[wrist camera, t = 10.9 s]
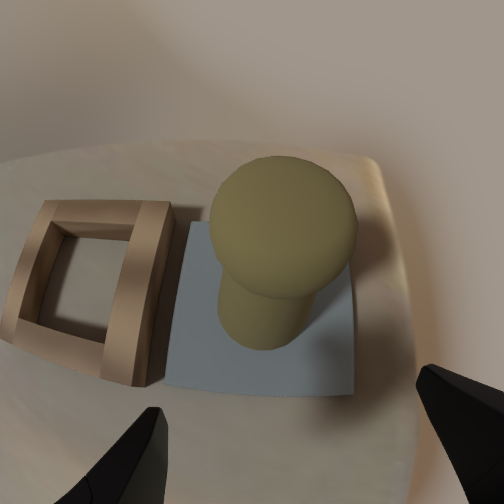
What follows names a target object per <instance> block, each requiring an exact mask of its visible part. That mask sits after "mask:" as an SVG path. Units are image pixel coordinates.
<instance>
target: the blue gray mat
mask: <svg viewBox="0 0 504 504" xmlns="http://www.w3.org/2000/svg"><path fill="white" fill-rule="evenodd" d="M222 271H223V266H222V265H221V263H220V262H219V261H218V259H217V258H216V255H215V252H214V248H213V245H212V241H211V238H210V233H209V222H196V221H191V225H190V230H189V235H188V239H187V244H186V249H185V254H184V259H183V264H182V269H181V274H180V280H179V285H178V291H177V296H176V302H175V308H174V314H173V321H172V327H171V334H170V341H169V348H168V355H167V363H166V371H165V380H164V384H165V385H170V386H176V387H183V388H189V389H196V390H203V391H212V392H221V393H231V394H243V395H258V396H286V397H311V396H339V395H354V323H353V304H352V289H351V276H350V266H349V262H348V263H347V265H346V267H345V269H344V270H343V271H342V273H341V274H340V275H339V276H338V277H337V278H336V279H335V280H334V281H332V282H331V283H330V284H329V285H327V286H326V287H325V288H323V289H322V290H320V291H318V292H317V293H316V296H315V299H314V302H313V305H312V308H311V311H310V313H309V316H308V319H307V322H306V324H305V326H304V328H303V329H302V331H301V332H300V334H299V335H298V337H297V338H295V339H294V340H293V341H291V342H290V343H289V344H287V345H286V346H283V347H280V348H277V349H274V350H253V349H250V348H247V347H244V346H242V345H240V344H239V343H237V342H236V341H235V340H233V339H232V338H230V337H229V335H228V334H227V332H226V331H225V330H224V328H223V327H222V325H221V322H220V319H219V316H218V312H217V306H218V294H219V288H220V283H221V277H222Z"/></svg>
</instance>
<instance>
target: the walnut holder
mask: <svg viewBox="0 0 504 504" xmlns="http://www.w3.org/2000/svg"><path fill="white" fill-rule="evenodd" d="M175 223H176V219H175V216H174V212H173V209H172V206H171V203H170V201H145V200H45V201H44V203H43V205H42V207H41V209H40V211H39V213H38V215H37V217H36V220H35V222H34V224H33V226H32V229H31V231H30V233H29V235H28V238H27V240H26V243H25V245H24V248H23V250H22V253H21V256H20V258H19V261H18V264H17V267H16V270H15V273H14V276H13V279H12V282H11V285H10V288H9V292H8V295H7V299H6V303H5V307H4V311H3V315H2V319H1V324H0V339H2V340H4V341H6V342H8V343H10V344H12V345H14V346H16V347H18V348H21V349H23V350H25V351H27V352H30V353H32V354H34V355H36V356H39V357H41V358H44V359H46V360H49V361H51V362H54V363H56V364H59V365H62V366H65V367H67V368H70V369H73V370H76V371H79V372H82V373H85V374H88V375H91V376H95V377H98V378H101V379H105V380H108V381H112V382H116V383H119V384H123V385H127V386H131V387H145V384H146V376H147V368H148V360H149V353H150V347H151V340H152V334H153V328H154V322H155V316H156V310H157V305H158V300H159V294H160V289H161V284H162V279H163V275H164V270H165V265H166V261H167V256H168V252H169V248H170V243H171V239H172V235H173V231H174V227H175ZM64 236H70V237H83V238H96V239H109V240H122V241H129V245H128V248H127V251H126V255H125V258H124V262H123V265H122V269H121V273H120V276H119V280H118V284H117V288H116V292H115V296H114V301H113V305H112V310H111V314H110V319H109V324H108V329H107V334H106V340H105V344H103V343H99V342H95V341H91V340H87V339H83V338H80V337H76V336H72V335H69V334H66V333H62V332H59V331H56V330H53V329H49V328H46V327H43V326H40V325H37V321H38V317H39V312H40V308H41V305H42V301H43V297H44V293H45V290H46V287H47V283H48V280H49V277H50V274H51V270H52V267H53V264H54V262H55V259H56V256H57V253H58V250H59V248H60V245H61V242H62V240H63V237H64Z"/></svg>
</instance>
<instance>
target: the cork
mask: <svg viewBox="0 0 504 504" xmlns="http://www.w3.org/2000/svg"><path fill="white" fill-rule="evenodd" d="M357 230H358V221H357V217H356V213H355V209H354V205H353V202H352V199H351V197H350V195H349V194H348V192H347V191H346V189H345V187H344V186H343V184H342V183H341V182H340V181H339V180H338V179H337V178H336V177H334V176H333V175H332V174H331V173H330V172H329V171H327V170H326V169H324V168H322V167H320V166H318V165H316V164H314V163H313V162H310V161H306V160H303V159H299V158H296V157H287V156H271V157H265V158H259V159H256V160H253V161H251V162H249V163H247V164H245V165H242V166H241V167H239V168H238V169H237V170H236V171H235V172H234V173H233V174H232V175H230V176H229V177H228V178H227V179H226V180H225V181H224V182H223V183H222V185H221V186H220V188H219V190H218V192H217V194H216V196H215V198H214V200H213V203H212V207H211V212H210V222H209V233H210V238H211V241H212V245H213V248H214V252H215V255H216V258H217V259H218V261H219V262H220V263H221V265H222V266H223V271H222V277H221V283H220V288H219V294H218V306H217V312H218V316H219V319H220V322H221V325H222V327H223V328H224V330H225V331H226V332H227V334H228V335H229V337H230V338H232V339H233V340H235V341H236V342H237V343H239V344H240V345H242V346H244V347H247V348H250V349H253V350H274V349H277V348H280V347H283V346H286V345H287V344H289V343H290V342H291V341H293V340H294V339H295V338H297V337H298V335H299V334H300V332H301V331H302V329H303V328H304V326H305V324H306V322H307V319H308V316H309V313H310V311H311V308H312V305H313V302H314V299H315V296H316V293H317V292H318V291H320V290H322V289H323V288H325V287H326V286H327V285H329V284H330V283H331V282H332V281H334V280H335V279H336V278H337V277H338V276H339V275H340V274H341V273H342V271H343V270H344V269H345V267H346V265H347V263H348V262H349V260H350V258H351V256H352V254H353V253H354V249H355V245H356V239H357Z"/></svg>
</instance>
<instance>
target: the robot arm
mask: <svg viewBox="0 0 504 504" xmlns="http://www.w3.org/2000/svg"><path fill="white" fill-rule="evenodd" d="M416 389H417V391H418V394H419V396H420V398H421V401H422V403H423V405H424V408H425V410H426V412H427V415H428V417H429V420H430V422H431V423H432V425H433V427H434V429H435V431H436V433H437V435H438V437H439V439H440V441H441V443H442V445H443V447H444V449H445V451H446V453H447V455H448V457H449V459H450V461H451V463H452V465H453V467H454V470H455V472H456V474H457V476H458V478H459V481H460V483H461V485H462V487H463V490H464V492H465V495H466V497H467V500H468V502H469V504H504V392H503V391H500V390H497V389H495V388H492V387H490V386H487V385H484V384H482V383H479V382H477V381H474V380H472V379H469V378H467V377H464V376H461V375H459V374H456V373H454V372H451V371H449V370H446V369H444V368H442V367H439V366H437V365H434V364H428V365H426V366H423V367H422V368H421V371H420V373H419V376H418V378H417V381H416ZM167 470H168V424H167V421H166V418H165V416H164V413H163V411H162V409H161V408H160V407H148V408H147V409H146V410H145V411H144V412H143V413H142V414H141V415H140V416H139V417H138V419H137V420H136V421H135V422H134V423H133V424H132V425H131V426H130V427H129V429H128V430H127V431H126V432H125V433H124V434H123V435H122V436H121V437H120V438H119V440H118V441H117V442H116V443H115V444H114V445H113V446H112V447H111V448H110V449H109V450H108V451H107V453H106V454H105V455H104V456H103V457H102V458H101V459H100V460H99V461H98V462H97V463H96V464H95V465H94V466H93V468H92V469H91V470H90V471H89V472H88V473H87V474H86V476H84V477H83V478H82V479H81V480H80V481H79V482H78V483H77V484H76V485H75V486H74V487H73V488H72V489H71V490H70V491H69V492H68V493H66V494H65V495H64V496H63V497H62V498H60V499H59V500H58V501H57V502H55V503H54V504H164V495H165V486H166V478H167Z"/></svg>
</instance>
